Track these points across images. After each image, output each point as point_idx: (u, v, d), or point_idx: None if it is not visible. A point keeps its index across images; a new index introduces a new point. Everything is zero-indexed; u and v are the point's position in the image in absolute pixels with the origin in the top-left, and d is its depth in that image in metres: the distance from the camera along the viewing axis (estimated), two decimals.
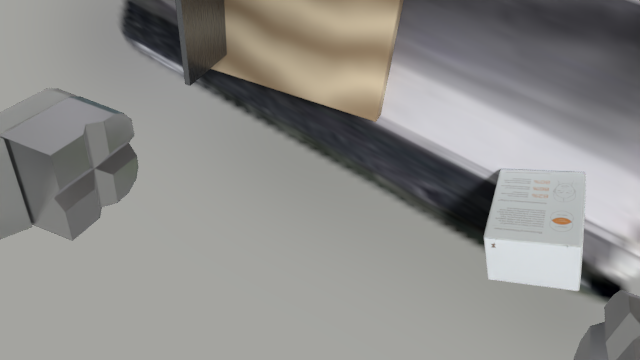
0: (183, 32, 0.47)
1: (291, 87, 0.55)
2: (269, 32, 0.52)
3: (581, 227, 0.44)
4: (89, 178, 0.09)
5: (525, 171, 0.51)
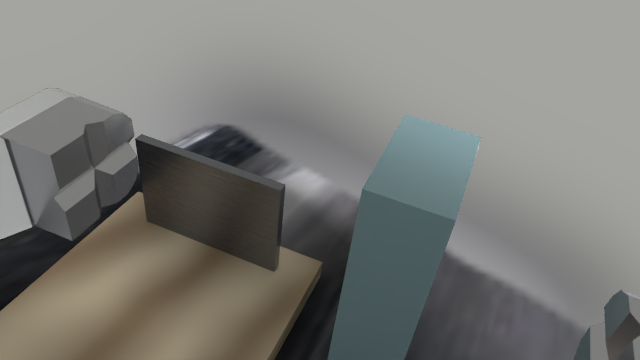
0: (216, 166, 0.31)
1: (40, 292, 0.31)
2: (149, 295, 0.31)
3: None
4: (89, 178, 0.09)
5: None
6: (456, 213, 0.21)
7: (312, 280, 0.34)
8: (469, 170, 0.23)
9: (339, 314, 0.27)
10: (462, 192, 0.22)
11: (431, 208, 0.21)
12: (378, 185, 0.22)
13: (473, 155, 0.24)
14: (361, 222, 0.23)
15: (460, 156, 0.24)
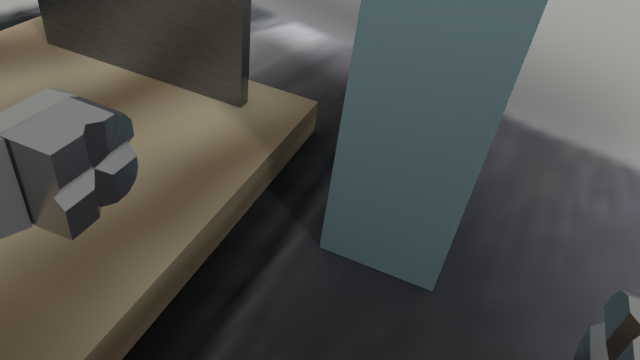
0: None
1: None
2: None
3: None
4: (89, 178, 0.09)
5: None
6: None
7: (301, 121, 0.21)
8: None
9: (348, 109, 0.14)
10: None
11: None
12: None
13: None
14: None
15: None
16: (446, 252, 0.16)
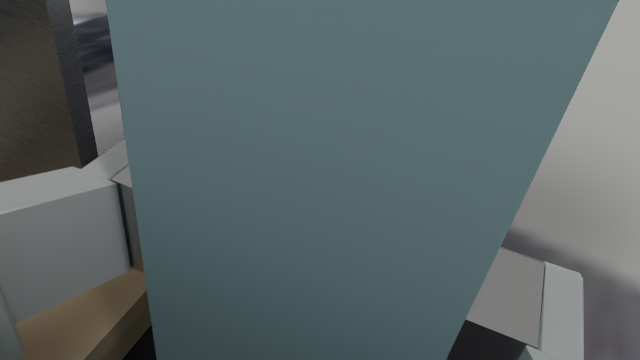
0: None
1: None
2: None
3: None
4: None
5: None
6: None
7: None
8: None
9: (162, 344, 0.08)
10: None
11: None
12: None
13: None
14: None
15: None
16: None
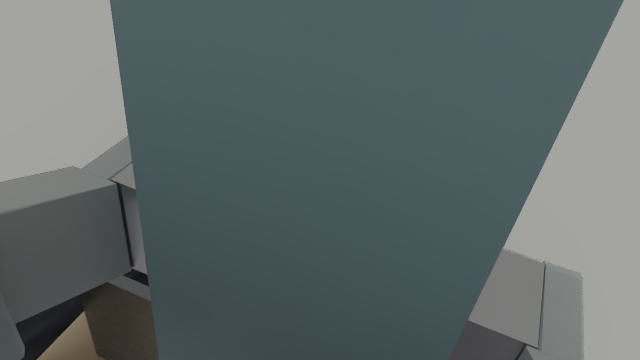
0: None
1: None
2: None
3: None
4: None
5: None
6: None
7: None
8: None
9: (164, 343, 0.08)
10: None
11: None
12: None
13: None
14: None
15: None
16: None
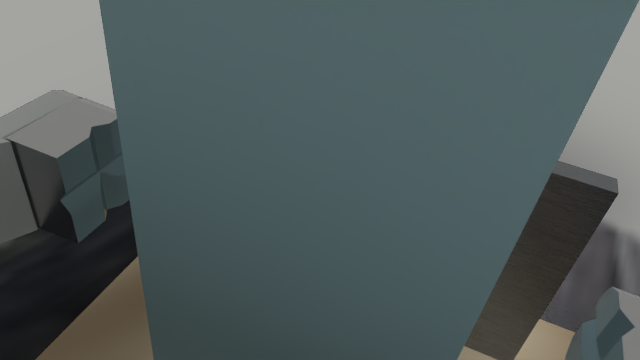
0: None
1: None
2: None
3: None
4: (95, 181, 0.09)
5: None
6: None
7: None
8: None
9: None
10: None
11: None
12: None
13: None
14: None
15: None
16: None
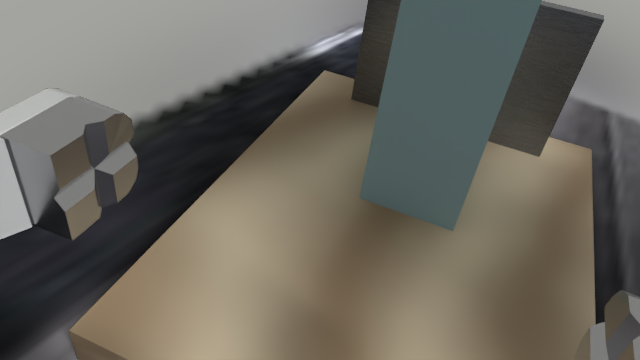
0: None
1: (255, 166, 0.22)
2: None
3: None
4: (89, 178, 0.09)
5: None
6: None
7: None
8: None
9: (388, 79, 0.18)
10: None
11: None
12: None
13: None
14: None
15: None
16: (465, 196, 0.19)
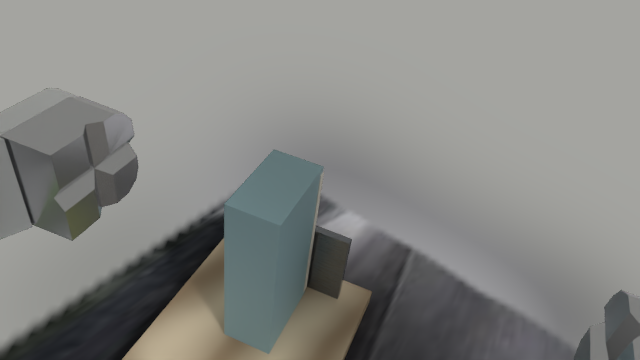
0: None
1: (172, 314, 0.42)
2: None
3: None
4: (89, 178, 0.09)
5: None
6: (283, 221, 0.32)
7: (365, 305, 0.45)
8: (304, 191, 0.35)
9: (226, 290, 0.38)
10: (293, 206, 0.33)
11: (267, 217, 0.32)
12: (235, 201, 0.33)
13: (312, 180, 0.36)
14: (227, 226, 0.34)
15: (302, 181, 0.35)
16: (269, 340, 0.39)
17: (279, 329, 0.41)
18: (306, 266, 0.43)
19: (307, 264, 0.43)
